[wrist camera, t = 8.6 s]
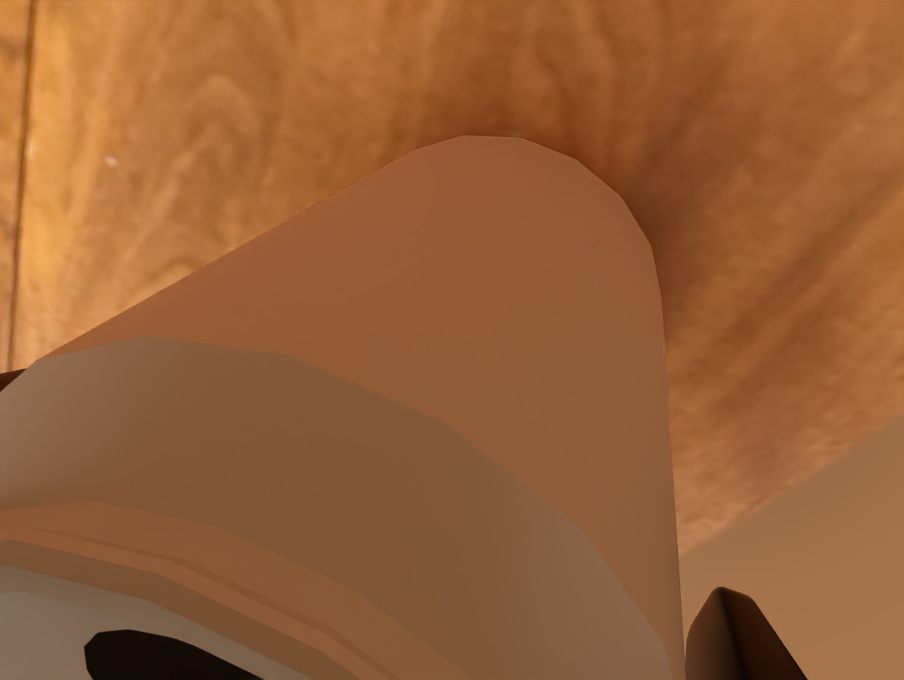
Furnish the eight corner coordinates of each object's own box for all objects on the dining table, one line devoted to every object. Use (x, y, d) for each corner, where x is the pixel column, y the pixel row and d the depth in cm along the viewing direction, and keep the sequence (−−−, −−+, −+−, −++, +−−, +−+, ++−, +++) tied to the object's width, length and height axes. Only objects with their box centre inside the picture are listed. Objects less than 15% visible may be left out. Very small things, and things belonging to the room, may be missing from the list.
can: (735, 242, 13) (1075, 1073, 3) (549, 472, 17) (400, 1181, 7) (424, 59, 13) (-384, 204, 3) (309, 329, 17) (-216, 813, 7)
